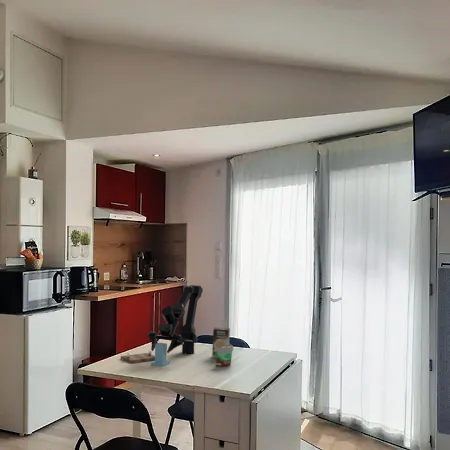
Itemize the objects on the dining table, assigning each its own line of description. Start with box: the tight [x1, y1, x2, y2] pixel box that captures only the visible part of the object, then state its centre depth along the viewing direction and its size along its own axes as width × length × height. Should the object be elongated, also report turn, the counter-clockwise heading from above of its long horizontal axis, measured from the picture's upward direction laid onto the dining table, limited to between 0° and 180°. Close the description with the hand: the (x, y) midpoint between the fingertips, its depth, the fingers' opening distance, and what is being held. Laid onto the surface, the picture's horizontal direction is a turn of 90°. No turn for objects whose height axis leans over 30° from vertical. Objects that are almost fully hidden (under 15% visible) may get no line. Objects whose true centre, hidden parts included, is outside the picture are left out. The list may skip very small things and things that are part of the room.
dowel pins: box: [126, 349, 152, 358], centre depth 262 cm, size 15×2×2 cm, turn 130°
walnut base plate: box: [120, 352, 155, 364], centre depth 262 cm, size 16×12×2 cm
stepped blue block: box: [150, 342, 171, 367], centre depth 253 cm, size 7×7×10 cm
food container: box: [215, 343, 235, 368], centre depth 255 cm, size 12×6×10 cm, turn 143°
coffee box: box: [211, 327, 231, 359], centre depth 274 cm, size 9×6×16 cm
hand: (159, 351), depth 251 cm, fingers open, 9 cm apart
